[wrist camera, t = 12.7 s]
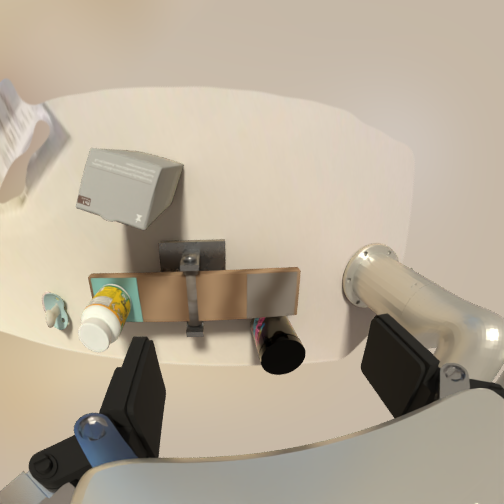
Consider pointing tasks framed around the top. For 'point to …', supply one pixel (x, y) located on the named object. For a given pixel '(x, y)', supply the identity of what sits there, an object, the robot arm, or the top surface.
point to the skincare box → (127, 186)
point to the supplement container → (277, 344)
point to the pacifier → (54, 311)
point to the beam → (206, 294)
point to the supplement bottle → (104, 317)
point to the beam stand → (192, 262)
